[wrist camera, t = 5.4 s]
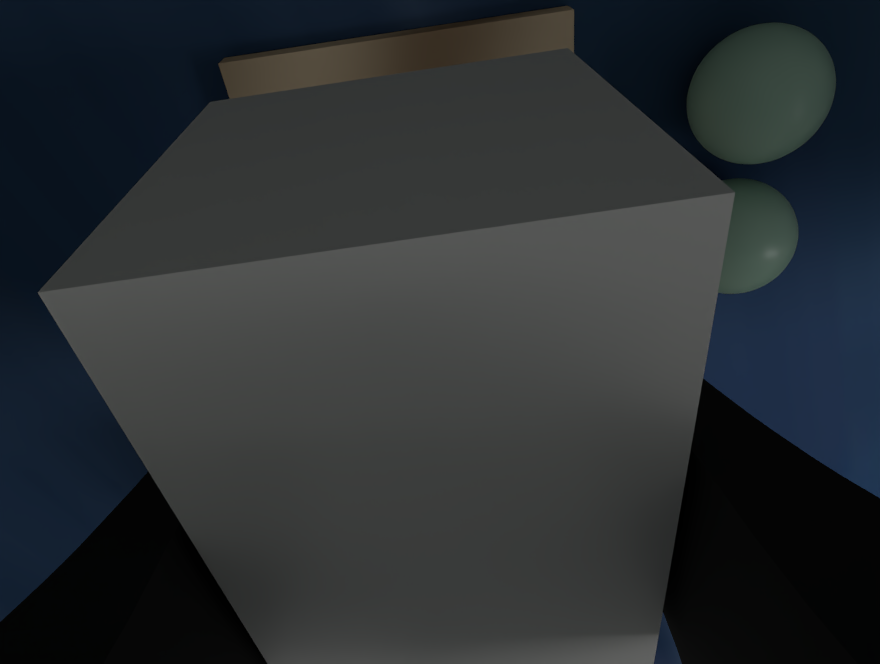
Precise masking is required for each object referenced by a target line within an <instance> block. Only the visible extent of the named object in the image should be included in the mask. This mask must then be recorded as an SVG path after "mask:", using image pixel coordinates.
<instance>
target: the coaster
mask: <svg viewBox="0 0 880 664" xmlns="http://www.w3.org/2000/svg"><path fill="white" fill-rule="evenodd" d="M565 48H568V49H570V50H571V51H572V52H573V53H574V9H572V8H571V7H569V6H562V7H555V8H549V9H542V10H536V11H529V12H523V13H516V14H509V15H503V16H496V17H490V18H483V19H477V20H470V21H463V22H457V23H450V24H444V25H437V26H431V27H424V28H417V29H411V30H404V31H398V32H391V33H385V34H378V35H371V36H365V37H358V38H352V39H345V40H339V41H332V42H325V43H319V44H312V45H306V46H299V47H293V48H286V49H280V50H273V51H266V52H260V53H253V54H247V55H240V56H234V57H227V58H224V59H223V60H222V61H221V62H219V63H218V64H219V68H220V71H221V74H222V77H223V80H224V83H225V86H226V89H227V92H228V95H229V98H230V99H232V98H239V97H246V96H252V95H259V94H266V93H272V92H279V91H286V90H292V89H299V88H306V87H312V86H319V85H325V84H332V83H339V82H345V81H352V80H359V79H365V78H372V77H379V76H385V75H392V74H398V73H405V72H412V71H418V70H425V69H432V68H438V67H445V66H452V65H458V64H465V63H472V62H478V61H485V60H491V59H498V58H505V57H511V56H518V55H525V54H531V53H538V52H545V51H551V50H558V49H565Z"/></svg>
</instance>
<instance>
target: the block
mask: <svg viewBox="0 0 880 664" xmlns="http://www.w3.org/2000/svg"><path fill="white" fill-rule="evenodd" d="M734 197H735V192H734V191H733V190H732V189H731V188H730V187H728V186H727V185H726V184H725V183H724V182H723V181H721V180H720V179H719V178H718V177H717V176H716V175H715V174H713V173H712V172H711V171H710V170H709V169H708V168H706V167H705V166H704V165H703V164H702V163H701V162H699V161H698V160H697V159H696V158H695V157H694V156H692V155H691V154H690V153H689V152H688V151H687V150H686V149H684V148H683V147H682V146H681V145H680V144H679V143H677V142H676V141H675V140H674V139H673V138H672V137H670V136H669V135H668V134H667V133H666V132H665V131H663V130H662V129H661V128H660V127H659V126H658V125H657V124H655V123H654V122H653V121H652V120H651V119H650V118H648V117H647V116H646V115H645V114H644V113H643V112H641V111H640V110H639V109H638V108H637V107H636V106H635V105H633V104H632V103H631V102H630V101H629V100H628V99H626V98H625V97H624V96H623V95H622V94H621V93H619V92H618V91H617V90H616V89H615V88H614V87H612V86H611V85H610V84H609V83H608V82H607V81H606V80H604V79H603V78H602V77H601V76H600V75H599V74H597V73H596V72H595V71H594V70H593V69H592V68H590V67H589V66H588V65H587V64H586V63H585V62H583V61H582V60H581V59H580V58H579V57H578V56H577V55H575V54H574V53H573V52H572V51H571V50H570V49H568V48H565V49H558V50H551V51H545V52H538V53H531V54H525V55H518V56H511V57H505V58H498V59H491V60H485V61H478V62H472V63H465V64H458V65H452V66H445V67H438V68H432V69H425V70H418V71H412V72H405V73H398V74H392V75H385V76H379V77H372V78H365V79H359V80H352V81H345V82H339V83H332V84H325V85H319V86H312V87H306V88H299V89H292V90H286V91H279V92H272V93H266V94H259V95H252V96H246V97H239V98H232V99H226V100H219V101H213V102H210V103H209V104H208V105H207V106H206V107H205V108H204V109H203V110H202V112H201V113H200V114H199V115H198V116H197V117H196V118H195V119H194V120H193V122H192V123H191V124H190V125H189V126H188V127H187V128H186V129H185V130H184V131H183V133H182V134H181V135H180V136H179V137H178V138H177V139H176V140H175V141H174V143H173V144H172V145H171V146H170V147H169V148H168V149H167V150H166V151H165V152H164V154H163V155H162V156H161V157H160V158H159V159H158V160H157V161H156V162H155V163H154V165H153V166H152V167H151V168H150V169H149V170H148V171H147V172H146V173H145V175H144V176H143V177H142V178H141V179H140V180H139V181H138V182H137V183H136V184H135V186H134V187H133V188H132V189H131V190H130V191H129V192H128V193H127V194H126V196H125V197H124V198H123V199H122V200H121V201H120V202H119V203H118V204H117V205H116V207H115V208H114V209H113V210H112V211H111V212H110V213H109V214H108V215H107V217H106V218H105V219H104V220H103V221H102V222H101V223H100V224H99V225H98V226H97V228H96V229H95V230H94V231H93V232H92V233H91V234H90V235H89V236H88V238H87V239H86V240H85V241H84V242H83V243H82V244H81V245H80V246H79V247H78V249H77V250H76V251H75V252H74V253H73V254H72V255H71V256H70V257H69V259H68V260H67V261H66V262H65V263H64V264H63V265H62V266H61V267H60V268H59V270H58V271H57V272H56V273H55V274H54V275H53V276H52V277H51V278H50V280H49V281H48V282H47V283H46V284H45V285H44V286H43V287H42V288H41V289H40V291H39V292H38V294H39V296H40V297H41V299H42V300H43V302H44V304H45V305H46V307H47V308H48V310H49V312H50V313H51V315H52V317H53V318H54V320H55V321H56V323H57V325H58V326H59V328H60V329H61V331H62V333H63V334H64V336H65V337H66V339H67V341H68V342H69V344H70V346H71V347H72V349H73V350H74V352H75V354H76V355H77V357H78V358H79V360H80V362H81V363H82V365H83V367H84V368H85V370H86V371H87V373H88V375H89V376H90V378H91V379H92V381H93V383H94V384H95V386H96V388H97V389H98V391H99V392H100V394H101V396H102V397H103V399H104V400H105V402H106V404H107V405H108V407H109V409H110V410H111V412H112V413H113V415H114V417H115V418H116V420H117V421H118V423H119V425H120V426H121V428H122V430H123V431H124V433H125V434H126V436H127V438H128V439H129V441H130V442H131V444H132V446H133V447H134V449H135V451H136V452H137V454H138V455H139V457H140V459H141V460H142V462H143V463H144V465H145V467H146V468H147V470H148V471H149V473H150V475H151V476H152V478H153V480H154V481H155V483H156V484H157V486H158V488H159V489H160V491H161V492H162V494H163V496H164V497H165V499H166V501H167V502H168V504H169V505H170V507H171V509H172V510H173V512H174V513H175V515H176V517H177V518H178V520H179V522H180V523H181V525H182V526H183V528H184V530H185V531H186V533H187V534H188V536H189V538H190V539H191V541H192V543H193V544H194V546H195V547H196V549H197V551H198V552H199V554H200V555H201V557H202V559H203V560H204V562H205V564H206V565H207V567H208V568H209V570H210V572H211V573H212V575H213V576H214V578H215V580H216V581H217V583H218V585H219V586H220V588H221V589H222V591H223V593H224V594H225V596H226V597H227V599H228V601H229V602H230V604H231V605H232V607H233V609H234V610H235V612H236V614H237V615H238V617H239V618H240V620H241V622H242V623H243V625H244V626H245V628H246V630H247V631H248V633H249V635H250V636H251V638H252V639H253V641H254V643H255V644H256V646H257V647H258V649H259V651H260V652H261V654H262V656H263V657H264V659H265V660H266V662H267V664H654V659H655V653H656V647H657V641H658V635H659V630H660V624H661V618H662V612H663V607H664V601H665V595H666V589H667V583H668V578H669V572H670V566H671V560H672V555H673V549H674V543H675V537H676V532H677V526H678V520H679V514H680V508H681V503H682V497H683V491H684V485H685V480H686V474H687V468H688V462H689V456H690V451H691V445H692V439H693V433H694V428H695V422H696V416H697V410H698V405H699V399H700V393H701V387H702V381H703V376H704V370H705V364H706V358H707V353H708V347H709V341H710V335H711V329H712V324H713V318H714V312H715V306H716V301H717V295H718V289H719V283H720V277H721V272H722V266H723V260H724V254H725V249H726V243H727V237H728V231H729V226H730V220H731V214H732V208H733V202H734Z"/></svg>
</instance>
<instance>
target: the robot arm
mask: <svg viewBox="0 0 880 664" xmlns="http://www.w3.org/2000/svg"><path fill="white" fill-rule="evenodd" d="M663 613H664V615H665V618H666V621H667V623H668V626H669V629H670V631H671V634H672V636H673V639H674V642H675V644H676V647H677V650H678V653H679V656H680V659H681V662H682V664H880V498H878V497H877V496H875V495H873V494H872V493H870V492H868V491H866V490H865V489H863V488H861V487H860V486H858V485H856V484H855V483H853V482H851V481H849V480H848V479H846V478H844V477H843V476H841V475H840V474H838V473H836V472H835V471H833V470H832V469H830V468H828V467H827V466H825V465H824V464H822V463H820V462H819V461H817V460H816V459H814V458H813V457H811V456H810V455H808V454H807V453H805V452H804V451H802V450H801V449H799V448H798V447H796V446H795V445H793V444H792V443H791V442H789V441H788V440H786V439H785V438H783V437H782V436H780V435H779V434H777V433H776V432H774V431H773V430H771V429H770V428H768V427H767V426H766V425H764V424H763V423H761V422H760V421H759V420H757V419H756V418H754V417H753V416H752V415H750V414H749V413H748V412H746V411H745V410H744V409H742V408H741V407H740V406H738V405H737V404H736V403H734V402H733V401H732V400H730V399H729V398H728V397H726V396H725V395H724V394H722V393H721V392H720V391H718V390H717V389H716V388H715V387H713V386H712V385H711V384H709V383H708V382H707V381H706V380H704V379H703V381H702V387H701V393H700V399H699V405H698V410H697V416H696V422H695V428H694V433H693V439H692V445H691V451H690V456H689V462H688V468H687V474H686V480H685V485H684V491H683V497H682V503H681V508H680V514H679V520H678V526H677V532H676V537H675V543H674V549H673V555H672V560H671V566H670V572H669V578H668V583H667V589H666V595H665V601H664V607H663ZM0 664H267V662H266V660H265V659H264V657H263V656H262V654H261V652H260V651H259V649H258V647H257V646H256V644H255V643H254V641H253V639H252V638H251V636H250V635H249V633H248V631H247V630H246V628H245V626H244V625H243V623H242V622H241V620H240V618H239V617H238V615H237V614H236V612H235V610H234V609H233V607H232V605H231V604H230V602H229V601H228V599H227V597H226V596H225V594H224V593H223V591H222V589H221V588H220V586H219V585H218V583H217V581H216V580H215V578H214V576H213V575H212V573H211V572H210V570H209V568H208V567H207V565H206V564H205V562H204V560H203V559H202V557H201V555H200V554H199V552H198V551H197V549H196V547H195V546H194V544H193V543H192V541H191V539H190V538H189V536H188V534H187V533H186V531H185V530H184V528H183V526H182V525H181V523H180V522H179V520H178V518H177V517H176V515H175V513H174V512H173V510H172V509H171V507H170V505H169V504H168V502H167V501H166V499H165V497H164V496H163V494H162V492H161V491H160V489H159V488H158V486H157V484H156V483H155V481H154V480H153V478H152V476H151V475H150V473H149V471H148V472H147V474H146V475H145V476H144V477H143V478H142V479H141V481H140V482H139V483H138V484H137V485H136V486H135V487H134V488H133V489H132V491H131V492H130V493H129V494H128V495H127V496H126V497H125V498H124V499H123V500H122V501H121V502H120V503H119V504H118V506H117V507H116V508H115V509H114V510H113V511H112V512H111V513H110V514H109V515H108V516H107V517H106V518H105V520H104V521H103V522H102V523H101V524H100V525H99V526H98V527H97V528H96V529H95V530H94V531H93V532H92V533H91V535H90V536H89V537H88V538H87V539H86V540H85V541H84V542H83V543H82V544H81V545H80V546H79V547H78V548H77V549H76V550H75V551H74V552H73V553H72V554H71V555H70V556H69V557H68V558H67V559H66V560H65V561H64V562H63V563H62V564H61V565H60V566H59V567H58V568H57V569H56V570H55V571H54V572H53V573H52V574H51V575H50V576H49V577H48V578H47V579H46V580H45V581H44V582H43V583H42V584H41V585H40V586H39V587H38V588H37V589H35V590H34V591H33V592H32V593H31V594H30V595H29V596H28V597H27V598H26V599H25V600H24V601H23V602H21V603H20V604H19V605H18V606H17V607H16V608H15V609H14V610H13V611H12V612H11V613H10V614H9V615H7V616H6V617H5V618H4V619H3V620H2V621H1V622H0Z"/></svg>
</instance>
